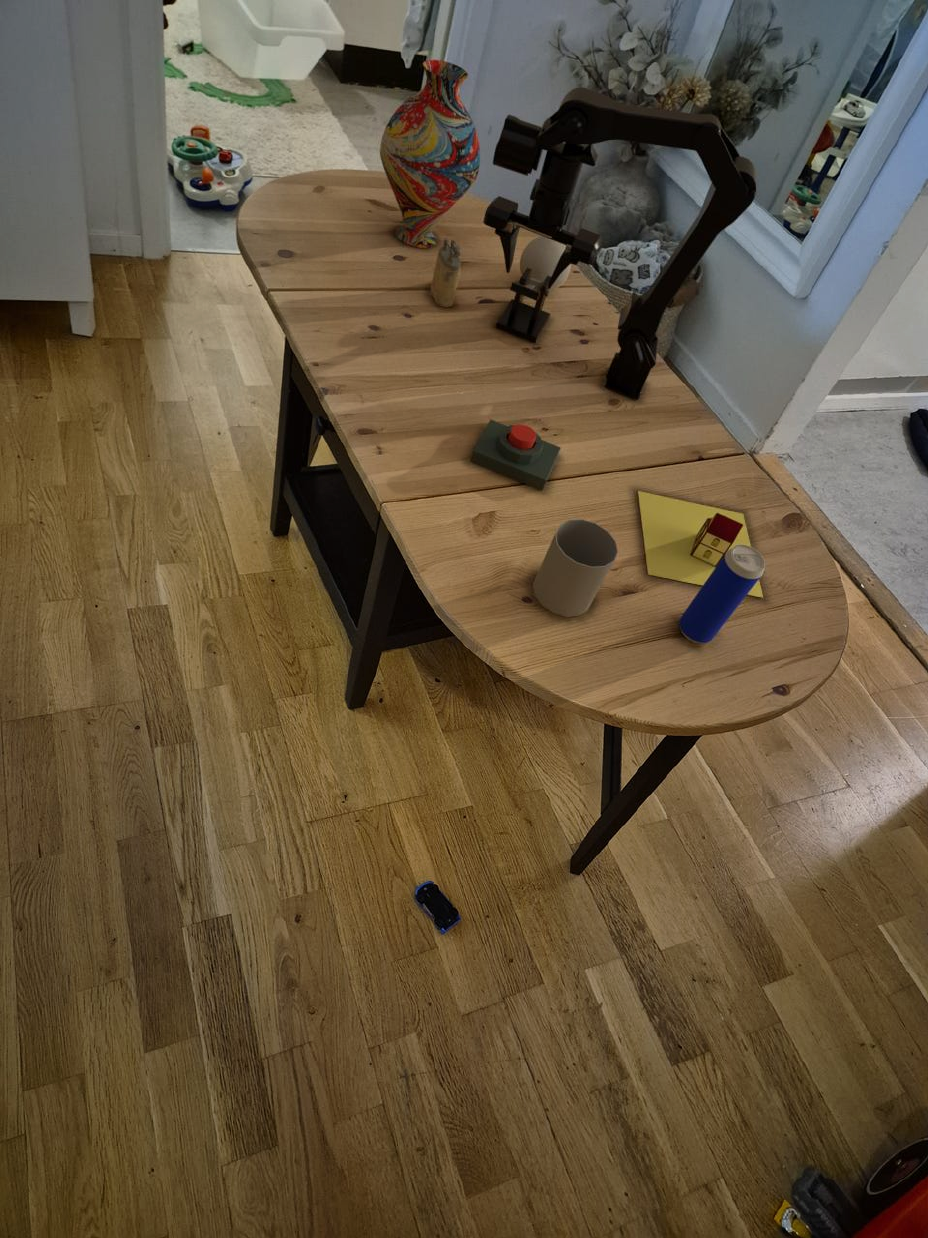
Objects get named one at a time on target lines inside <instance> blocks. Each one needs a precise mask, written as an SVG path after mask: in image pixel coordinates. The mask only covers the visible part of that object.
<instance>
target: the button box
mask: <svg viewBox="0 0 928 1238" xmlns="http://www.w3.org/2000/svg"><path fill="white" fill-rule="evenodd" d="M514 425H515V424H509V425H506V424H503V423H501V422H499V421H496V420H494V419H490V420H489V422H488V423H487V425H486V427H485V429H484V430H483V432H482V433H481V435H480V437H479V439H478V441H477V443H476V445H475V447H474V448H473V450H472V453H471V457H470V460H469V462H470V463H473V464H475V465H478V466H479V467H483V468H485V469H487V470H490V471H492V472H495V473H498V474H500V475H502V476H504V477H507V478H509V479H513V480H514V481H517V482H519V483H522V484H524V485H527V486H530V487H531V488H534V489H537V490H539V491H541V492H543V491H544V489H545V486H546V484H547V482H548V479H549V477H550V475H551V472H552V470H553V468H554V465H555V463H556V461H557V459H558V456H559V453H560V451H561V449H562V448H561V447H560V446H558V445H555V444H553V443H550V442H548V441H546V440H543V439H542V437H541V436H540V435H539V434H538V433H537V432H535V433H536V439H535V442H534V444H533V447H532V448H531V449H529V450H520V449H518V448H515V447H513V446H512V445H511V444H510V443H509V441H508V436H509V433H510V430H511V428H512V427H513V426H514Z"/></svg>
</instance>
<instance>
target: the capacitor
mask: <svg viewBox="0 0 928 1238" xmlns="http://www.w3.org/2000/svg"><path fill="white" fill-rule="evenodd" d="M449 241H450V244H449ZM461 254H462V253H461V246H460V244H457V241H456V240H455V239H452V240H449V238H447V237H446V238H444V240H443V246H440V247H439V250H438V253H437V256H436V261H435V265H434V269H433V270H434V271H433V275H432V280H431V285H430V287H429V290H430V292H431V294H430V296H431V298H433V299H434V302H435V303H436V305H438V306H441V307H444V308H450V307H452V306H453V305H454V301H455V297H456V293H457V289H458V283H459V280H460V279H459V278H460V275H461V271H462V269H461V267H462V261H461V259H460V256H461Z"/></svg>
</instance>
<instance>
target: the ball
mask: <svg viewBox="0 0 928 1238" xmlns="http://www.w3.org/2000/svg"><path fill="white" fill-rule="evenodd" d="M565 248H566V245H564V244H561V243H559V242H556V241H554V240H551V239H549V238H546V237H543V236H538V237H536V238H534V239H532V240H531V241H530V242H529V243H528V244H527V245H526V246H525V247H524V249H523V251H522V253H521V256H520V259H519V272H520V275H521V276H522V274H523V273H524V271H525V270H526V268H530V269H532V271H531V274H530V278H531V277H533V278H535V279H538V280H540V281H542V284H543V282H544V280H545V279H546V277H547V276H550V277H551V276H552V274H553V272H554V270H555V268H556V265H557V263H558V261H559V259H560V257H561V255H562V253H563V252H564V250H565ZM571 268H572V264H570V265H569V266H568V267H567V268H566V269H565V270H564V271H563V272H562V273H561V274H560V275H559V277H558V278H557V280H556V281H555V282H554V284H553V285H552V286H551V288H550V292H552V291H555V290H557V289H558V288H560V287H561V286H562V285H563V284H564V283H565V282H566V280H567V279H568V277H569V274H570V272H571Z"/></svg>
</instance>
